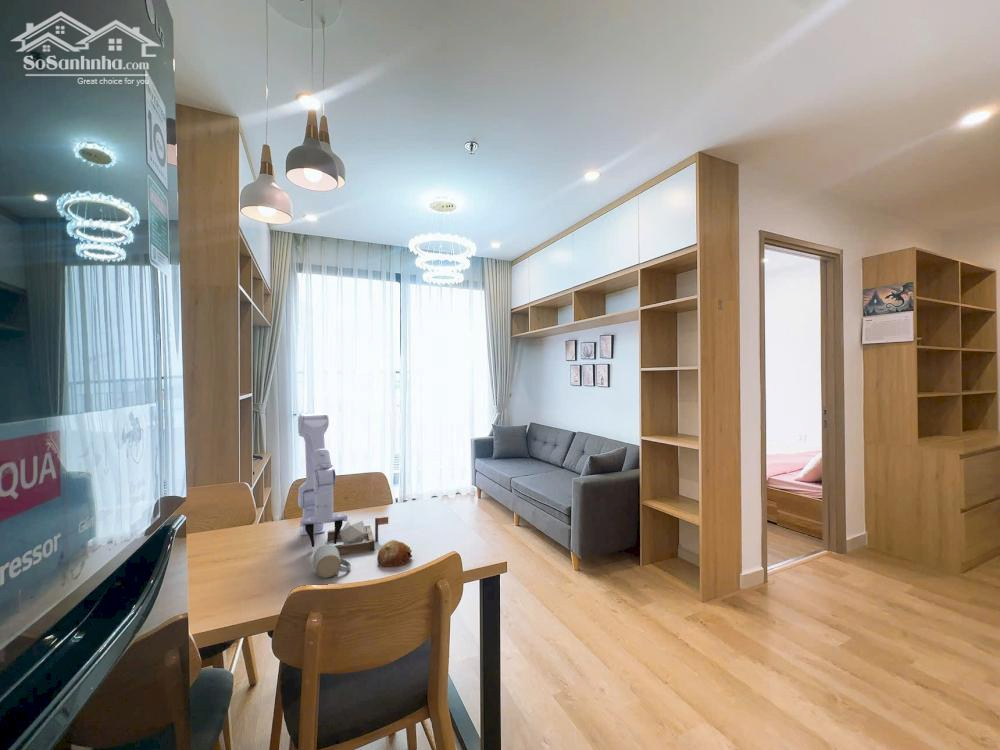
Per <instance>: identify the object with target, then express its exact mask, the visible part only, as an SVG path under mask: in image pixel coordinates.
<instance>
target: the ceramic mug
mask: <svg viewBox="0 0 1000 750" xmlns="http://www.w3.org/2000/svg"><path fill="white" fill-rule="evenodd" d="M335 546H336V545H334V544H323V545H321V546H319V547H318V548H317V549H316V550H315V552H314V553H313V556H312V563H313V565H314V570H315V572H316V574H317V576H319V578H323V579H330V578H332V577H335V575H336V574H337V573H338V572H341V573H342V572H344V573H345V572H349V571H350V569H351V567H352V564H351V563H350V561H348V560H347V559H344V558H342V557H341V556H339V551H338V549H337V548H336V547H335Z"/></svg>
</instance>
